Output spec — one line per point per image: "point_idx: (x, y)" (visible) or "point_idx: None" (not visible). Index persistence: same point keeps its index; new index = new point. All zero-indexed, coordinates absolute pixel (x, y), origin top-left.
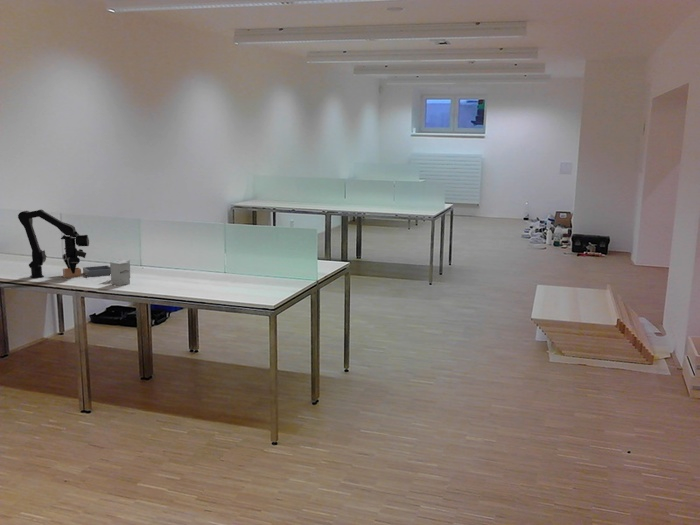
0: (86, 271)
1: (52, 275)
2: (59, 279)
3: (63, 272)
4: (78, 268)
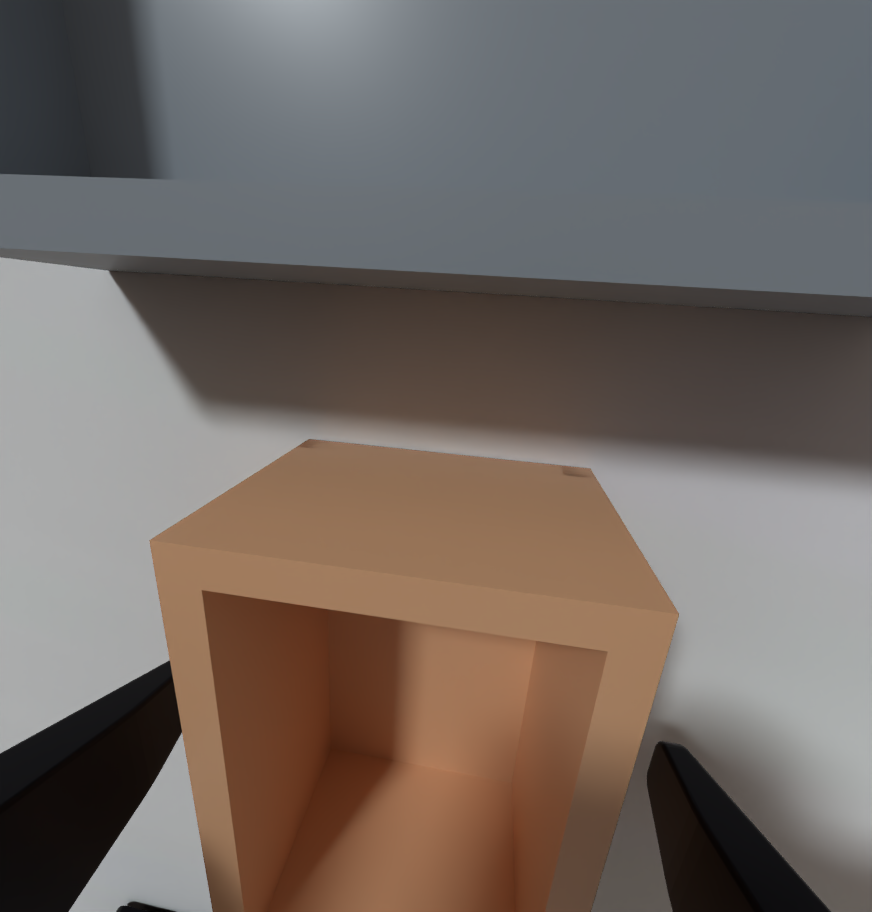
0: (616, 291)
1: (166, 816)
2: (646, 895)
3: (348, 856)
4: (334, 593)
